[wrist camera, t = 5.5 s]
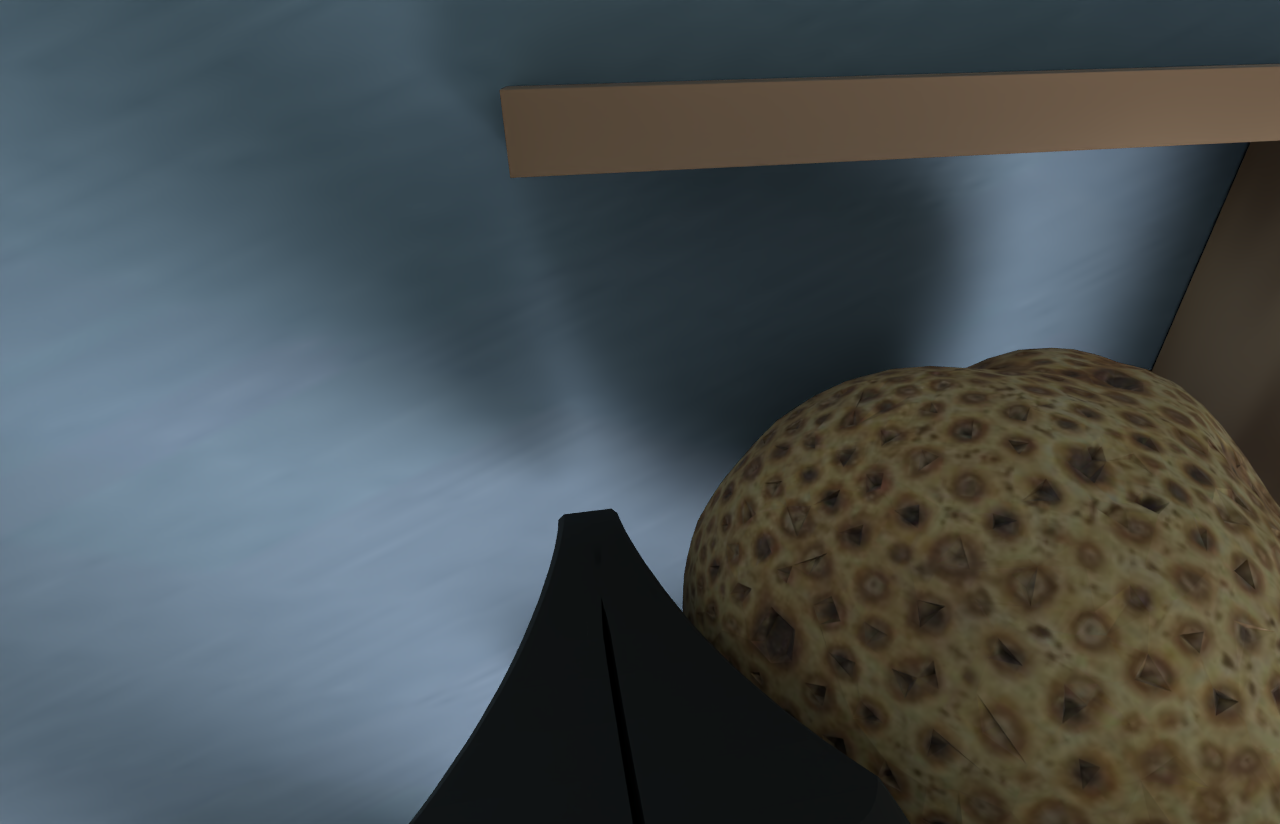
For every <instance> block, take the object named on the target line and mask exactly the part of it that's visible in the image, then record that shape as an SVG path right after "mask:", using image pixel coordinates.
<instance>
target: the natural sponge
mask: <svg viewBox="0 0 1280 824" xmlns="http://www.w3.org/2000/svg"><path fill="white" fill-rule="evenodd" d="M683 613H684V614H685V616H686V617H687V618H688V619H689V620H690V621H691V623H692V624H693V625H694V626H695V627H696V628H697V629H698V630H699V631H700V633H701V634H702V635H703V636H704V637H705V638H706V639H707V640H708V641H709V642H710V643H711V644H712V645H713V646H714V647H715V648H716V649H717V650H718V651H719V652H720V653H721V654H722V655H723V656H724V657H725V658H726V659H727V660H728V661H729V662H730V663H731V664H732V665H733V666H734V667H735V668H736V669H737V670H738V671H740V672H741V673H742V674H743V675H744V676H745V677H746V678H747V679H748V680H750V681H751V682H752V683H753V684H754V685H756V686H757V687H758V688H759V689H760V690H761V691H763V692H764V693H765V694H766V695H767V696H769V697H770V698H771V699H772V700H773V701H774V702H776V703H777V704H778V705H779V706H780V707H782V708H783V709H784V710H785V711H786V712H787V713H789V714H790V715H791V716H793V717H794V718H795V719H797V720H798V721H799V722H801V723H802V724H803V725H805V726H806V727H807V728H809V729H810V730H811V731H813V732H814V733H815V734H817V735H818V736H819V737H821V738H822V739H823V740H825V741H826V742H828V743H829V744H831V745H832V746H833V747H835V748H836V749H838V750H839V751H840V752H842V753H843V754H845V755H846V756H848V757H849V758H851V759H852V760H854V761H855V762H857V763H858V764H860V765H861V766H863V767H864V768H866V769H867V770H869V771H870V772H872V773H873V774H875V775H877V776H878V777H879V778H880V779H881V781H882V782H883V783H884V785H885V786H886V788H887V789H888V791H889V792H890V793H891V795H892V796H893V798H894V799H895V801H896V802H897V804H898V805H899V807H900V808H901V810H902V811H903V813H904V814H905V816H906V818H907V819H908V821H909V822H910V824H1280V507H1279V506H1278V504H1277V503H1276V502H1275V501H1274V499H1273V498H1272V497H1271V495H1270V494H1269V492H1268V490H1267V489H1266V487H1265V486H1264V484H1263V482H1262V481H1261V479H1260V478H1259V476H1258V475H1257V473H1256V472H1255V470H1254V469H1253V467H1252V466H1251V464H1250V463H1249V461H1248V459H1247V458H1246V456H1245V455H1244V454H1243V453H1242V451H1241V450H1240V449H1239V447H1238V446H1237V445H1236V444H1235V442H1234V441H1233V440H1232V438H1231V437H1230V436H1229V434H1228V433H1227V432H1226V431H1225V429H1224V428H1223V427H1222V425H1221V424H1220V423H1219V422H1218V421H1217V420H1216V419H1215V418H1214V417H1213V416H1212V414H1211V413H1210V412H1209V411H1208V410H1207V409H1206V408H1205V407H1204V406H1203V405H1202V404H1201V403H1200V402H1199V401H1197V400H1196V399H1195V398H1193V397H1192V396H1191V395H1190V394H1188V393H1187V392H1186V391H1185V390H1184V389H1183V388H1182V387H1180V386H1179V385H1177V384H1175V383H1174V382H1172V381H1170V380H1168V379H1166V378H1164V377H1162V376H1160V375H1158V374H1155V373H1153V372H1151V371H1149V370H1147V369H1143V368H1139V367H1135V366H1131V365H1127V364H1123V363H1119V362H1116V361H1113V360H1110V359H1107V358H1105V357H1102V356H1099V355H1096V354H1091V353H1087V352H1082V351H1078V350H1074V349H1061V348H1042V349H1025V350H1017V351H1013V352H1010V353H1006V354H1002V355H999V356H995V357H992V358H988V359H986V360H984V361H981V362H979V363H976V364H974V365H972V366H969V367H967V368H955V367H936V366H924V367H912V368H899V369H889V370H886V371H882V372H878V373H874V374H870V375H866V376H863V377H859V378H855V379H852V380H848V381H845V382H843V383H841V384H839V385H837V386H835V387H832V388H830V389H828V390H826V391H824V392H822V393H820V394H817V395H815V396H814V397H812V398H810V399H809V400H807V401H806V402H804V403H803V404H801V405H800V406H798V407H796V408H795V409H793V410H792V411H790V412H789V413H787V414H786V415H784V416H783V417H781V418H780V419H778V420H777V421H776V422H775V423H774V424H773V425H772V426H771V427H770V428H769V429H768V430H767V431H766V432H765V433H764V434H763V435H762V436H761V437H760V438H759V439H758V440H757V441H756V442H755V443H754V444H753V445H752V447H751V448H750V449H749V450H748V451H747V452H746V454H745V455H744V456H743V457H742V458H741V459H740V461H739V462H738V463H737V464H736V465H735V466H734V468H733V469H732V470H731V471H730V472H729V473H728V475H727V476H726V477H725V478H724V480H723V481H722V482H721V484H720V485H719V487H718V488H717V490H716V491H715V493H714V494H713V496H712V497H711V499H710V501H709V502H708V504H707V506H706V507H705V509H704V511H703V513H702V514H701V516H700V518H699V520H698V522H697V525H696V528H695V531H694V534H693V537H692V540H691V544H690V548H689V552H688V556H687V562H686V567H685V573H684V585H683Z"/></svg>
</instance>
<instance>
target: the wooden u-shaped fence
mask: <svg viewBox="0 0 1280 824" xmlns="http://www.w3.org/2000/svg"><path fill="white" fill-rule="evenodd" d="M500 97H501V106H502V114H503V122H504V130H505V139H506V147H507V155H508V163H509V171H510V178H517V177H538V176H558V175H579V174H600V173H620V172H641V171H661V170H682V169H702V168H723V167H743V166H764V165H785V164H805V163H826V162H846V161H867V160H887V159H908V158H929V157H949V156H970V155H990V154H1011V153H1031V152H1052V151H1072V150H1093V149H1114V148H1134V147H1155V146H1175V145H1196V144H1216V143H1237V142H1251V143H1250V145H1249V147H1248V150H1247V152H1246V154H1245V157H1244V159H1243V161H1242V163H1241V166H1240V168H1239V170H1238V173H1237V175H1236V177H1235V180H1234V182H1233V184H1232V187H1231V189H1230V191H1229V194H1228V196H1227V198H1226V201H1225V203H1224V205H1223V207H1222V210H1221V212H1220V214H1219V217H1218V219H1217V221H1216V224H1215V226H1214V228H1213V231H1212V233H1211V235H1210V238H1209V240H1208V242H1207V245H1206V247H1205V249H1204V252H1203V254H1202V256H1201V258H1200V261H1199V263H1198V265H1197V268H1196V270H1195V272H1194V275H1193V277H1192V279H1191V282H1190V284H1189V286H1188V289H1187V291H1186V293H1185V296H1184V298H1183V300H1182V302H1181V305H1180V307H1179V309H1178V312H1177V314H1176V316H1175V319H1174V321H1173V323H1172V326H1171V328H1170V330H1169V333H1168V335H1167V337H1166V340H1165V342H1164V344H1163V347H1162V349H1161V351H1160V353H1159V356H1158V358H1157V360H1156V363H1155V365H1154V367H1153V370H1152V372H1153V373H1155V374H1158V375H1160V376H1162V377H1164V378H1166V379H1168V380H1170V381H1172V382H1174V383H1175V384H1177V385H1179V386H1180V387H1182V388H1183V389H1184V390H1185V391H1186V392H1187V393H1188V394H1190V395H1191V396H1192V397H1193V398H1195V399H1196V400H1197V401H1199V402H1200V403H1201V404H1202V405H1203V406H1204V407H1205V408H1206V409H1207V410H1208V411H1209V412H1210V413H1211V414H1212V416H1213V417H1214V418H1215V419H1216V420H1217V421H1218V422H1219V423H1220V424H1221V425H1222V427H1223V428H1224V429H1225V431H1226V432H1227V433H1228V434H1229V436H1230V437H1231V438H1232V440H1233V441H1234V442H1235V444H1236V445H1237V446H1238V447H1239V449H1240V450H1241V451H1242V453H1243V454H1244V455H1245V456H1246V458H1247V459H1248V461H1249V463H1250V464H1251V466H1252V467H1253V469H1254V470H1255V472H1256V473H1257V475H1258V476H1259V478H1260V479H1261V481H1262V482H1263V484H1264V486H1265V487H1266V489H1267V490H1268V492H1269V494H1270V495H1271V497H1272V498H1273V499H1274V501H1275V502H1276V503H1277V504H1278V506H1279V507H1280V64H1251V65H1217V66H1183V67H1149V68H1115V69H1080V70H1046V71H1012V72H978V73H944V74H909V75H875V76H841V77H807V78H773V79H738V80H704V81H670V82H636V83H602V84H567V85H533V86H506V87H504V88H502V89H500Z"/></svg>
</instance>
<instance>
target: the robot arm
mask: <svg viewBox="0 0 1280 824" xmlns="http://www.w3.org/2000/svg"><path fill="white" fill-rule="evenodd" d="M409 824H910V822H909V821H908V819H907V818H906V816H905V814H904V813H903V811H902V810H901V808H900V807H899V805H898V804H897V802H896V801H895V799H894V798H893V796H892V795H891V793H890V792H889V791H888V789H887V788H886V786H885V785H884V783H883V782H882V781H881V779H880V778H879V777H878V776H877V775H875V774H873V773H872V772H870V771H869V770H867V769H866V768H864V767H863V766H861V765H860V764H858V763H857V762H855V761H854V760H852V759H851V758H849V757H848V756H846V755H845V754H843V753H842V752H840V751H839V750H838V749H836V748H835V747H833V746H832V745H831V744H829V743H828V742H826V741H825V740H823V739H822V738H821V737H819V736H818V735H817V734H815V733H814V732H813V731H811V730H810V729H809V728H807V727H806V726H805V725H803V724H802V723H801V722H799V721H798V720H797V719H795V718H794V717H793V716H791V715H790V714H789V713H787V712H786V711H785V710H784V709H783V708H782V707H780V706H779V705H778V704H777V703H776V702H774V701H773V700H772V699H771V698H770V697H769V696H767V695H766V694H765V693H764V692H763V691H761V690H760V689H759V688H758V687H757V686H756V685H754V684H753V683H752V682H751V681H750V680H748V679H747V678H746V677H745V676H744V675H743V674H742V673H741V672H740V671H738V670H737V669H736V668H735V667H734V666H733V665H732V664H731V663H730V662H729V661H728V660H727V659H726V658H725V657H724V656H723V655H722V654H721V653H720V652H719V651H718V650H717V649H716V648H715V647H714V646H713V645H712V644H711V643H710V642H709V641H708V640H707V639H706V638H705V637H704V636H703V635H702V634H701V633H700V631H699V630H698V629H697V628H696V627H695V626H694V625H693V624H692V623H691V621H690V620H689V619H688V618H687V617H686V616H685V614H684V613H683V612H682V611H681V610H680V608H679V607H678V606H677V605H676V604H675V602H674V601H673V600H672V599H671V597H670V596H669V595H668V594H667V592H666V591H665V590H664V588H663V587H662V586H661V584H660V583H659V582H658V580H657V579H656V577H655V576H654V575H653V573H652V572H651V570H650V569H649V568H648V566H647V565H646V563H645V562H644V560H643V559H642V557H641V556H640V554H639V553H638V551H637V550H636V548H635V546H634V545H633V543H632V541H631V540H630V538H629V536H628V534H627V533H626V531H625V529H624V527H623V525H622V523H621V521H620V519H619V516H618V514H617V512H615V511H614V510H613V509H605V510H597V511H588V512H580V513H572V514H564V515H563V516H562V517H561V518H560V519H559V520H558V533H557V539H556V544H555V549H554V553H553V557H552V560H551V564H550V568H549V571H548V574H547V577H546V580H545V583H544V586H543V589H542V592H541V595H540V598H539V601H538V603H537V606H536V608H535V611H534V613H533V616H532V618H531V620H530V623H529V625H528V628H527V630H526V633H525V635H524V637H523V640H522V642H521V644H520V646H519V648H518V650H517V653H516V655H515V657H514V659H513V661H512V663H511V665H510V667H509V669H508V671H507V673H506V675H505V677H504V679H503V681H502V682H501V684H500V686H499V688H498V690H497V692H496V693H495V695H494V697H493V699H492V700H491V702H490V704H489V706H488V707H487V709H486V711H485V713H484V714H483V716H482V718H481V720H480V721H479V723H478V725H477V726H476V728H475V729H474V731H473V733H472V734H471V736H470V738H469V739H468V741H467V742H466V744H465V745H464V747H463V748H462V750H461V751H460V753H459V754H458V756H457V757H456V759H455V760H454V762H453V763H452V764H451V766H450V767H449V769H448V770H447V772H446V773H445V775H444V776H443V778H442V779H441V781H440V782H439V784H438V785H437V787H436V788H435V790H434V791H433V793H432V794H431V795H430V797H429V798H428V799H427V801H426V802H425V804H424V805H423V806H422V808H421V809H420V810H419V812H418V813H417V814H416V815H415V817H414V818H413V819H412V821H411V822H410V823H409Z"/></svg>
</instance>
